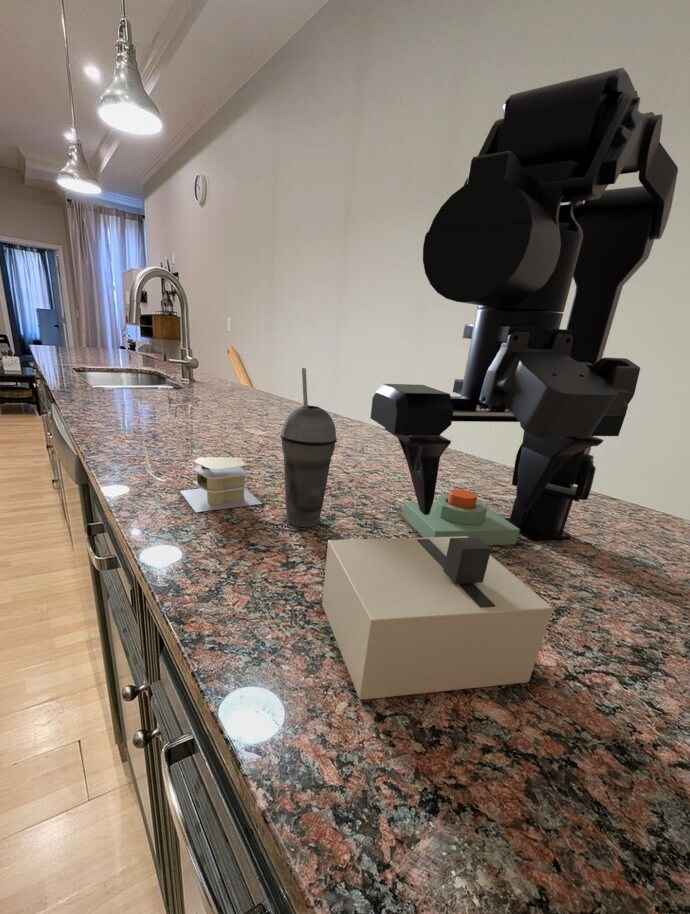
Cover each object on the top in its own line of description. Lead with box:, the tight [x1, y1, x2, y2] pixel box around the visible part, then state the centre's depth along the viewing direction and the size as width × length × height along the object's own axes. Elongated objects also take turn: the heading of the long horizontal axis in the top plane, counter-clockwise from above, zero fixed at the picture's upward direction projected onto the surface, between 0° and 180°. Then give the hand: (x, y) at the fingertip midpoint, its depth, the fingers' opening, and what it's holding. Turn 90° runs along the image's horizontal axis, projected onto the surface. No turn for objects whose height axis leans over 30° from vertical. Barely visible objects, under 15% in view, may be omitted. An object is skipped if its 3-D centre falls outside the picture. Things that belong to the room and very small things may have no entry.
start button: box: [448, 488, 479, 509], centre depth 60 cm, size 4×4×2 cm
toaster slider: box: [443, 537, 492, 584], centre depth 35 cm, size 2×2×3 cm
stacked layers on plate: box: [179, 456, 263, 513], centre depth 66 cm, size 10×9×6 cm
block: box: [401, 494, 520, 546], centre depth 61 cm, size 12×10×4 cm
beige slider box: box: [321, 536, 554, 701], centre depth 38 cm, size 14×12×7 cm
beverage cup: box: [279, 367, 338, 528], centre depth 58 cm, size 7×7×20 cm
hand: (474, 511), depth 38 cm, fingers open, 9 cm apart
